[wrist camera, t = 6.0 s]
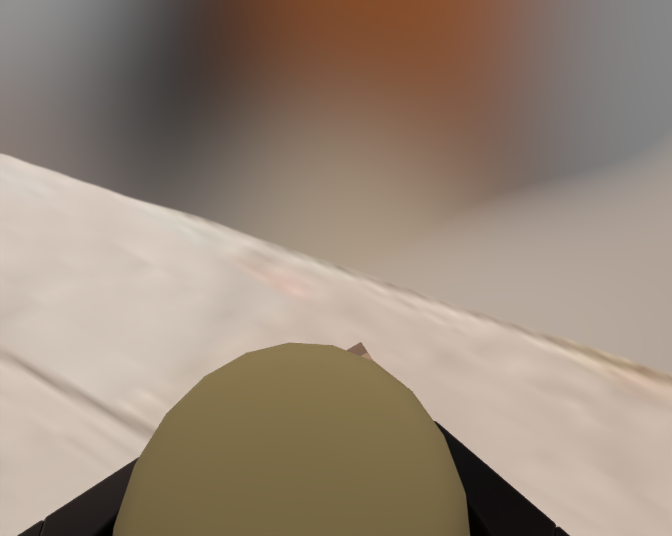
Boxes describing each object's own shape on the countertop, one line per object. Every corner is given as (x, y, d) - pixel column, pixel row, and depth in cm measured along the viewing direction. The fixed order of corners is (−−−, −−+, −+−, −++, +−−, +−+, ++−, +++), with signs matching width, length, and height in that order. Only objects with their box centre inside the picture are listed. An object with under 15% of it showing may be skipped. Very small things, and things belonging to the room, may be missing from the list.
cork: (438, 553, 12) (704, 738, 3) (275, 644, 11) (-59, 1346, 2) (365, 391, 15) (390, 241, 6) (232, 450, 14) (17, 377, 5)
